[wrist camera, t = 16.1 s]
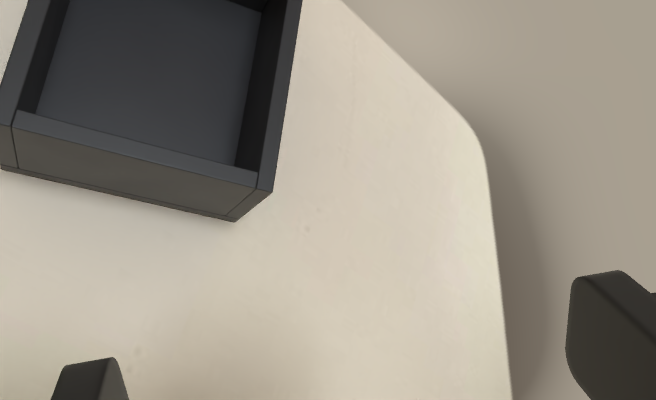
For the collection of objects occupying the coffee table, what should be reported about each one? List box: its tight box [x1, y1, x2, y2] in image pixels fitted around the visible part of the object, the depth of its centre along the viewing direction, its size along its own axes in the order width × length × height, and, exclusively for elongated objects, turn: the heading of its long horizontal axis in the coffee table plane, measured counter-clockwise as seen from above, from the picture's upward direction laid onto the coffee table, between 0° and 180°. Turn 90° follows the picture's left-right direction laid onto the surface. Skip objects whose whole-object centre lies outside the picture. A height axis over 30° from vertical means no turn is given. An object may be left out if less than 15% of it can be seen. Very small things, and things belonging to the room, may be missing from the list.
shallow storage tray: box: [0, 0, 302, 222], centre depth 29 cm, size 14×12×6 cm
